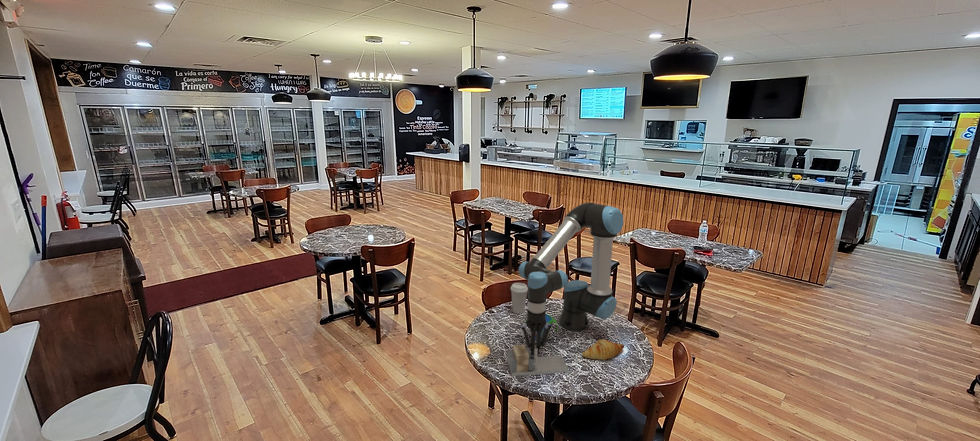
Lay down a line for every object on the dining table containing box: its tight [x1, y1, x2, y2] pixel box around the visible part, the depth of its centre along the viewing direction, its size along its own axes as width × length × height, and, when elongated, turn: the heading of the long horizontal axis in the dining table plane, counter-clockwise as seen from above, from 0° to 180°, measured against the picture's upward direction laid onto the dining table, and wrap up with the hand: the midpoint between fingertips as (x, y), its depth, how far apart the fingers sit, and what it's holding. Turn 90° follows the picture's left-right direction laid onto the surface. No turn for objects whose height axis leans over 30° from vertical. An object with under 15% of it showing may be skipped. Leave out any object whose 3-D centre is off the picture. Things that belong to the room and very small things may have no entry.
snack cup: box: [524, 313, 559, 339], centre depth 195 cm, size 16×10×10 cm
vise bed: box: [506, 355, 569, 377], centre depth 172 cm, size 24×10×2 cm, turn 98°
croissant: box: [581, 339, 625, 361], centre depth 182 cm, size 21×10×8 cm, turn 109°
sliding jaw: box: [526, 346, 534, 370], centre depth 171 cm, size 6×11×5 cm, turn 8°
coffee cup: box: [510, 282, 528, 315], centre depth 221 cm, size 10×10×15 cm
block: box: [512, 344, 529, 371], centre depth 170 cm, size 5×8×7 cm, turn 8°
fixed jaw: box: [507, 348, 517, 373], centre depth 169 cm, size 2×9×5 cm, turn 8°
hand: (534, 361), depth 171 cm, fingers closed
